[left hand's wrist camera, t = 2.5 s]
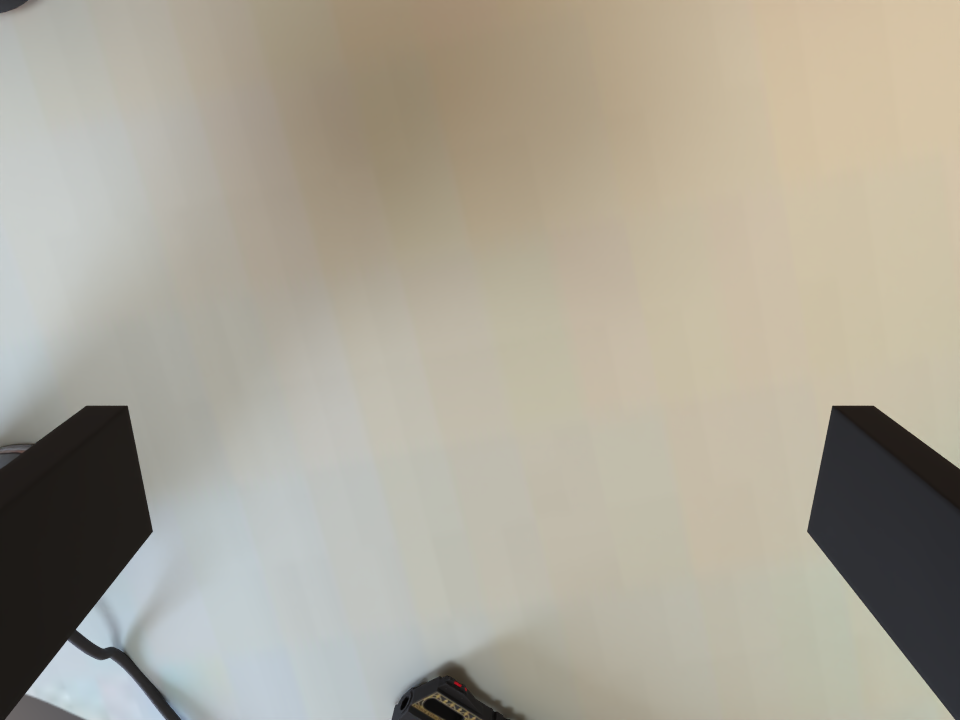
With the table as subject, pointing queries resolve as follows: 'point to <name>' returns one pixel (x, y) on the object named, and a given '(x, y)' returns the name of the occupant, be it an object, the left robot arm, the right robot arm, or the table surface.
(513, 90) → the table surface
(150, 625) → the table surface
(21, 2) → the mug
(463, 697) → the decorative firearm
